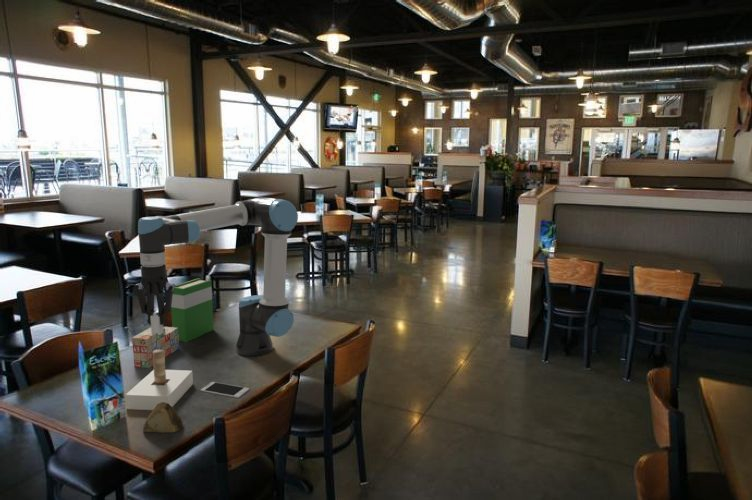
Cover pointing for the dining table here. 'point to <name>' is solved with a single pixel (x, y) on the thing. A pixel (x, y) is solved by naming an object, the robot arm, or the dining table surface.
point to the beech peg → (159, 367)
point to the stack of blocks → (154, 345)
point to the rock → (163, 419)
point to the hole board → (159, 390)
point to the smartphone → (225, 389)
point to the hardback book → (192, 309)
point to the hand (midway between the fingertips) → (157, 333)
